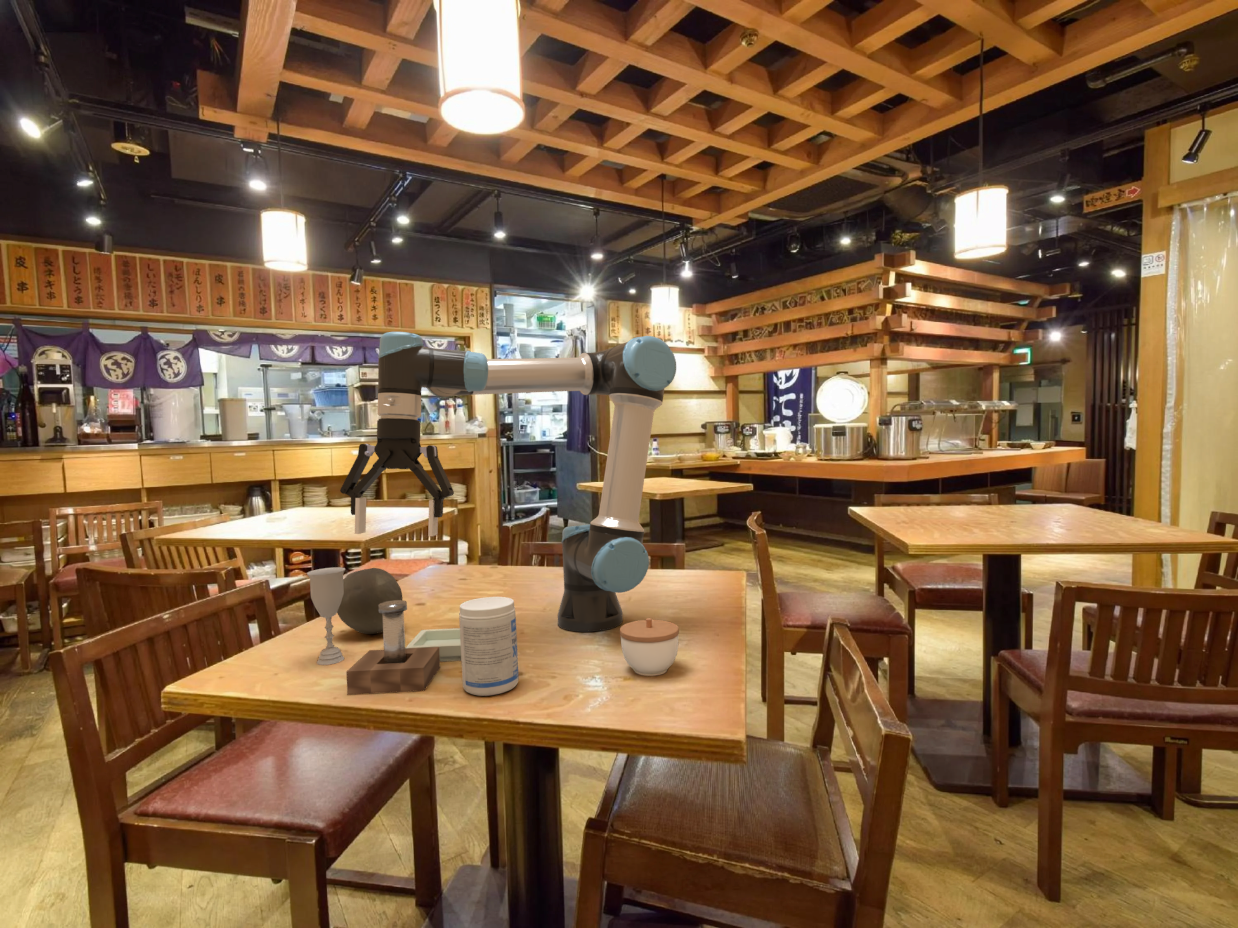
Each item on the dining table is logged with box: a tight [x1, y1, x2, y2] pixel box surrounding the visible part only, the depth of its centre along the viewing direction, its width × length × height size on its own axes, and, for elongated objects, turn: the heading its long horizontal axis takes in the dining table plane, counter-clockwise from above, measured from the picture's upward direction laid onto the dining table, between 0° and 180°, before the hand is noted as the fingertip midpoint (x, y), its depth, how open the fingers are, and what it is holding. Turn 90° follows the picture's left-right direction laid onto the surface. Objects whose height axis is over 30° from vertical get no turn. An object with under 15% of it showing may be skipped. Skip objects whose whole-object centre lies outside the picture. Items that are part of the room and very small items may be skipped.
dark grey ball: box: [336, 567, 404, 635], centre depth 140 cm, size 14×14×15 cm
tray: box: [405, 627, 462, 663], centre depth 126 cm, size 14×12×3 cm
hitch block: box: [345, 647, 441, 696], centre depth 111 cm, size 13×11×4 cm
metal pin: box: [378, 599, 408, 664], centre depth 111 cm, size 5×5×14 cm
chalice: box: [306, 566, 346, 666], centre depth 123 cm, size 7×7×18 cm
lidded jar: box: [619, 617, 680, 677], centre depth 112 cm, size 11×11×9 cm
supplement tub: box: [458, 596, 519, 697], centre depth 106 cm, size 10×10×15 cm
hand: (396, 534), depth 113 cm, fingers open, 13 cm apart
